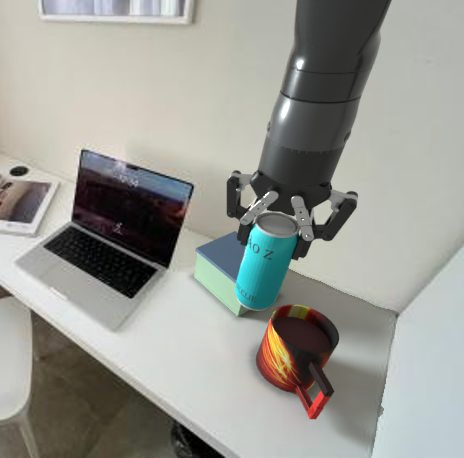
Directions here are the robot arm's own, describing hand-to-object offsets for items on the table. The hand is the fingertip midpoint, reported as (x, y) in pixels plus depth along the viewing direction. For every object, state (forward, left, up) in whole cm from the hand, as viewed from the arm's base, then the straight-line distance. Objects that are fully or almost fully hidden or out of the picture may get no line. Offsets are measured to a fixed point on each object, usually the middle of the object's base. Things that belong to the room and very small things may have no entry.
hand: (268, 248), depth 49 cm
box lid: (+6, -21, -22) cm, 31 cm away
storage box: (+5, -21, -30) cm, 37 cm away
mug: (-10, -4, -30) cm, 32 cm away
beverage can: (0, 0, -11) cm, 11 cm away
